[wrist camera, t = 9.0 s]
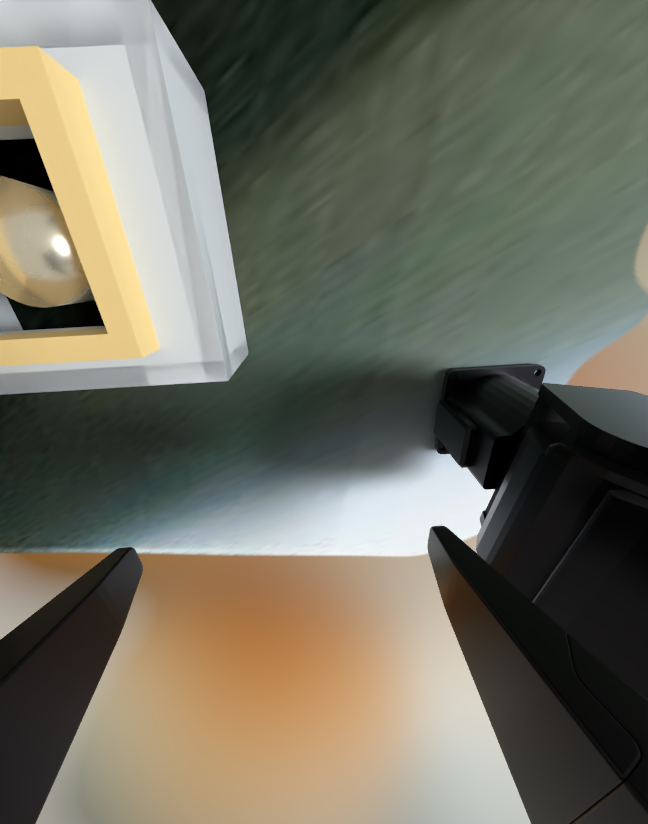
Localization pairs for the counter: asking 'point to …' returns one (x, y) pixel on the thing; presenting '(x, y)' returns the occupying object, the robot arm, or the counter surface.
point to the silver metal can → (37, 249)
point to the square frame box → (121, 198)
